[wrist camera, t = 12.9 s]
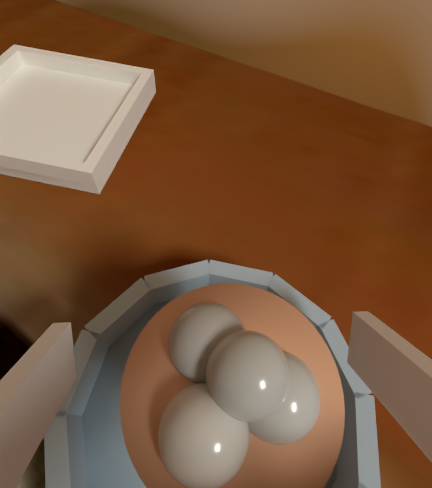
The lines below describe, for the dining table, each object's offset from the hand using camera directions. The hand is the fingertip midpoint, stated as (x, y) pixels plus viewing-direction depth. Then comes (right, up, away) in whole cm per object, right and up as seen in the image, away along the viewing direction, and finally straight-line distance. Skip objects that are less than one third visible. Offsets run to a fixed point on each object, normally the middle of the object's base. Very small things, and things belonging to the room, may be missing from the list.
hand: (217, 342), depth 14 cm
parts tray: (-16, +17, +17) cm, 29 cm away
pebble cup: (0, -5, +3) cm, 6 cm away
